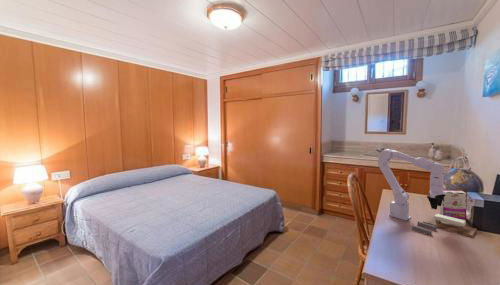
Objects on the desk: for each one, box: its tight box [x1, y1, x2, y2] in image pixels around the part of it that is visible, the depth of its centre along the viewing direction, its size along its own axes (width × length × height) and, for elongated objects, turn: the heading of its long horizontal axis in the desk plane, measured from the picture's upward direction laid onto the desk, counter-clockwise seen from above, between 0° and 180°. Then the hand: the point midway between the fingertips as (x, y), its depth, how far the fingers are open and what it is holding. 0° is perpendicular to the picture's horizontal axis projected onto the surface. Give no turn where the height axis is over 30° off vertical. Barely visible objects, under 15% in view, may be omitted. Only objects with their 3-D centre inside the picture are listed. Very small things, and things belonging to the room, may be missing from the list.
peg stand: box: [422, 216, 478, 238], centre depth 116 cm, size 20×11×3 cm, turn 34°
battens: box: [411, 221, 437, 236], centre depth 114 cm, size 8×10×2 cm
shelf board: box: [433, 213, 467, 227], centre depth 116 cm, size 12×5×2 cm, turn 34°
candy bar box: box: [439, 189, 468, 221], centre depth 127 cm, size 11×5×16 cm, turn 68°
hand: (436, 207), depth 119 cm, fingers open, 7 cm apart
